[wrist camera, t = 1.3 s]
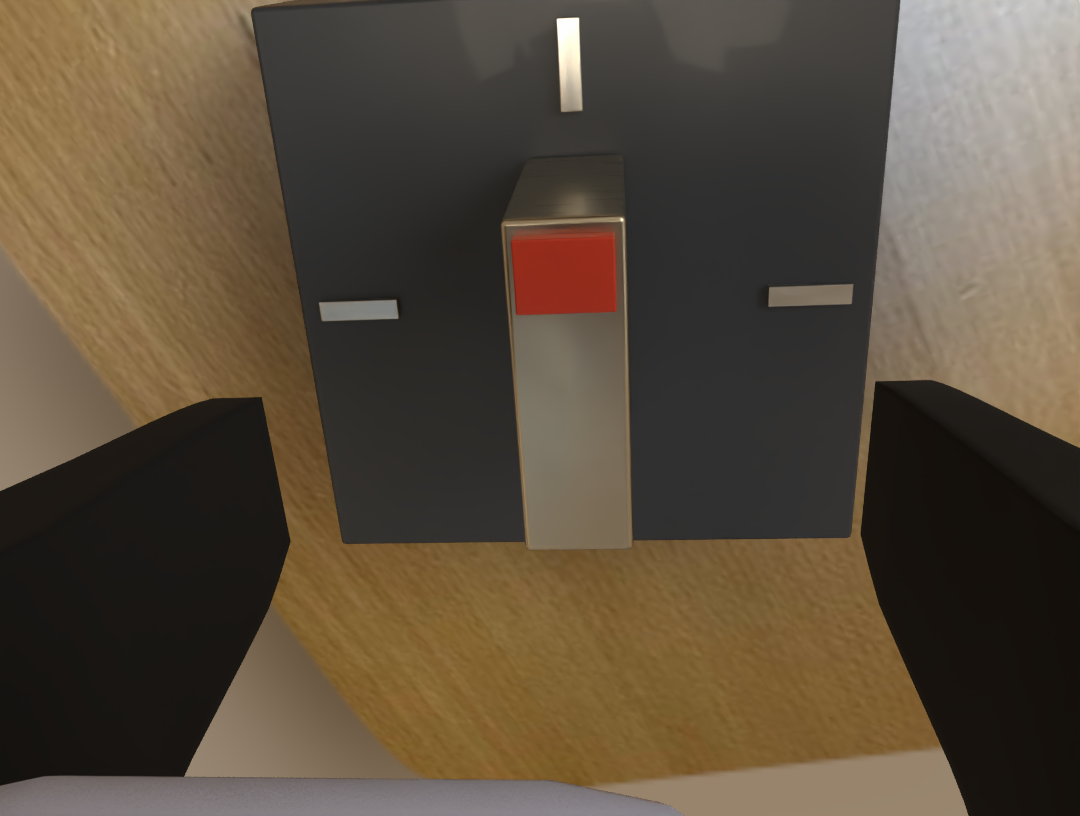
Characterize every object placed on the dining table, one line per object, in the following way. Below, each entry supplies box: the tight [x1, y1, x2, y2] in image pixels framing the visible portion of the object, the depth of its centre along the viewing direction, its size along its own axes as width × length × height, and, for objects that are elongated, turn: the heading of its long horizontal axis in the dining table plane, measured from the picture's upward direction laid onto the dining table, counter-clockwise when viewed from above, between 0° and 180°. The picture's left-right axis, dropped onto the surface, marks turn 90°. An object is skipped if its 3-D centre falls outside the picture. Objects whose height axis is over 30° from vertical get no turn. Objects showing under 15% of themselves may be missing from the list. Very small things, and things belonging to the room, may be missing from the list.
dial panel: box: [251, 0, 900, 544], centre depth 18 cm, size 10×10×3 cm
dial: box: [500, 155, 633, 550], centre depth 15 cm, size 5×2×4 cm, turn 3°
